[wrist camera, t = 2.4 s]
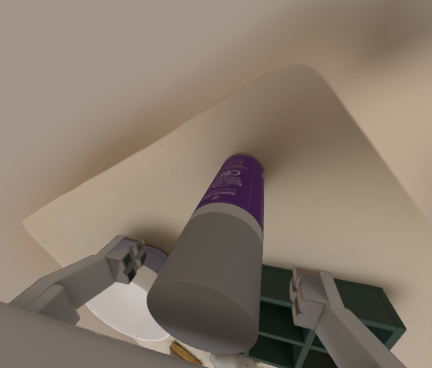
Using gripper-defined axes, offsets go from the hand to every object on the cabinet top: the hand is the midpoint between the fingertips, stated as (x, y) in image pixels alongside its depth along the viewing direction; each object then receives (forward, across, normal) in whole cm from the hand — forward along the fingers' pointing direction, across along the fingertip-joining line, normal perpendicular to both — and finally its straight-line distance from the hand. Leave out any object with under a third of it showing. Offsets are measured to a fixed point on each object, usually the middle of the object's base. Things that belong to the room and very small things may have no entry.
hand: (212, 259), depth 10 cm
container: (+12, 0, 0) cm, 12 cm away
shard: (+13, +12, +49) cm, 52 cm away
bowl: (+12, +14, +18) cm, 26 cm away
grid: (+12, -10, +21) cm, 26 cm away
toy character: (+12, -2, +41) cm, 43 cm away
